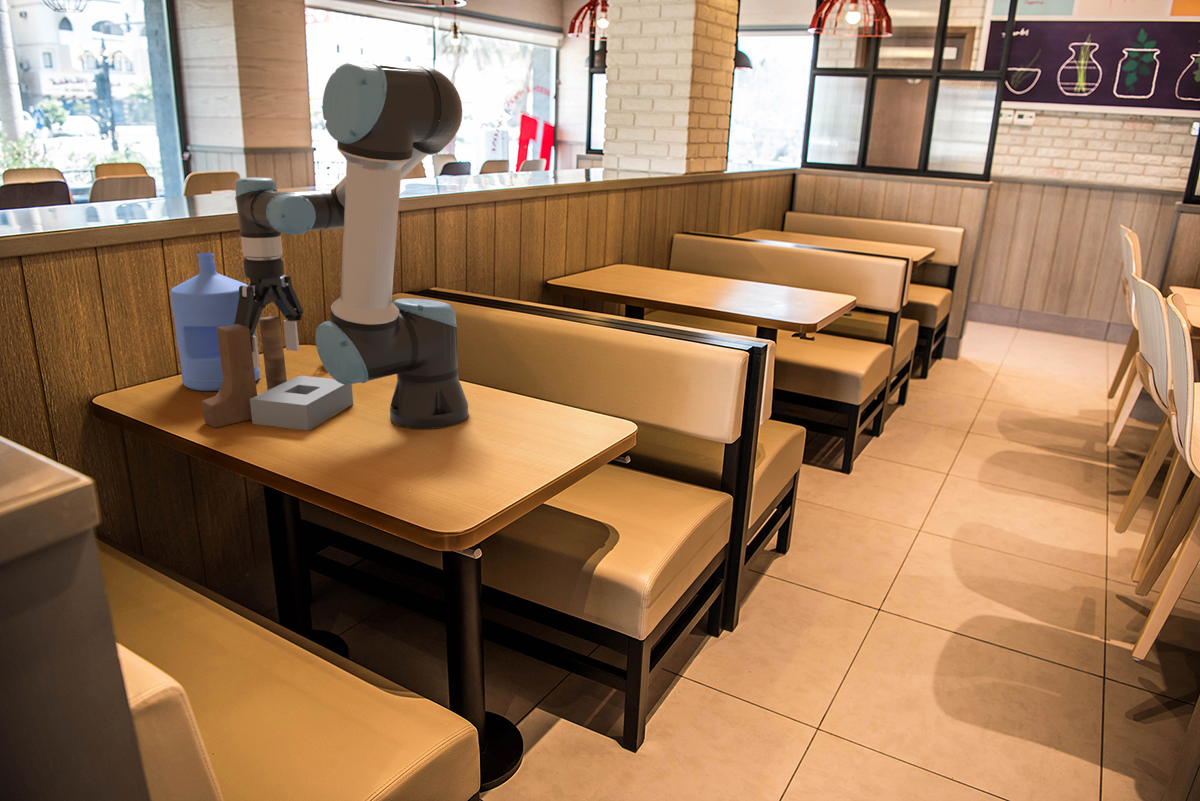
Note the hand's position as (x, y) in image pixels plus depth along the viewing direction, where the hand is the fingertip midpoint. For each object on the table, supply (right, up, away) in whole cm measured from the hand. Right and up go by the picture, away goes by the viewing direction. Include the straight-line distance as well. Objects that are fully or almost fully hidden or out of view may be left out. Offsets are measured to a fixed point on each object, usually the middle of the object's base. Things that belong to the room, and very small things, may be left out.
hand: (273, 358), depth 173 cm
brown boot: (-2, -13, -14) cm, 19 cm away
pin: (0, -7, +2) cm, 8 cm away
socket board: (+10, -11, -10) cm, 18 cm away
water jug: (-15, -5, +9) cm, 18 cm away
